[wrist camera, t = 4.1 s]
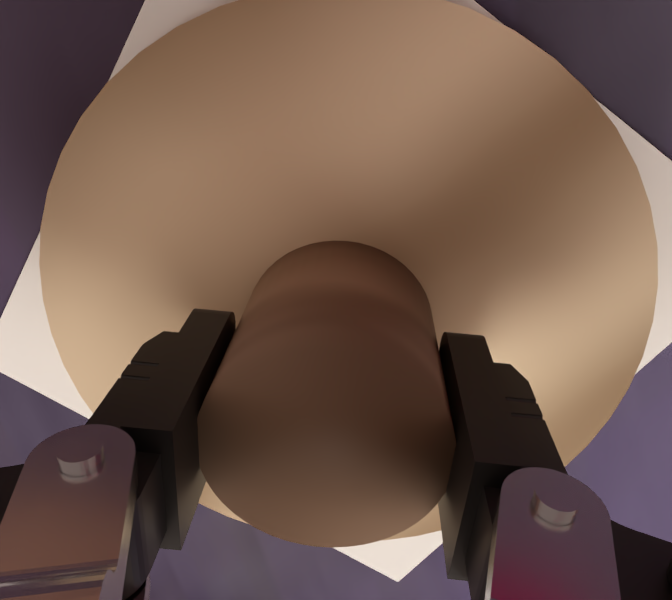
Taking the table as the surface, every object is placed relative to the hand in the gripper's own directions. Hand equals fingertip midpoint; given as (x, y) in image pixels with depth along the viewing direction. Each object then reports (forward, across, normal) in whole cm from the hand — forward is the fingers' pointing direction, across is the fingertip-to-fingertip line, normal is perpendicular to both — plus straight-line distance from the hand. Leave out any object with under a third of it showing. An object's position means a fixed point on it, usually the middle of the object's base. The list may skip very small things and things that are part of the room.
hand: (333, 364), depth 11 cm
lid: (+2, 0, 0) cm, 2 cm away
